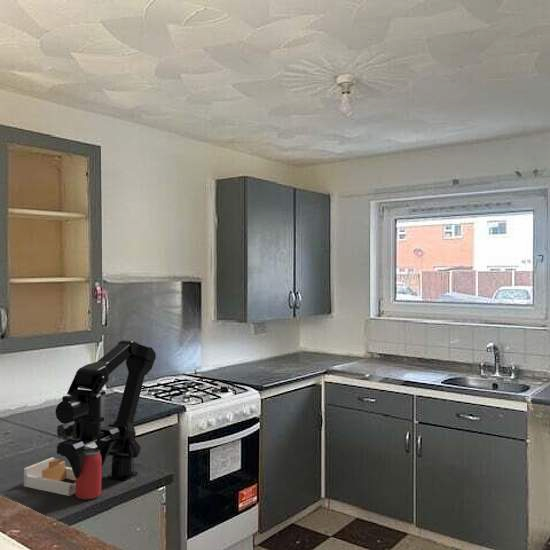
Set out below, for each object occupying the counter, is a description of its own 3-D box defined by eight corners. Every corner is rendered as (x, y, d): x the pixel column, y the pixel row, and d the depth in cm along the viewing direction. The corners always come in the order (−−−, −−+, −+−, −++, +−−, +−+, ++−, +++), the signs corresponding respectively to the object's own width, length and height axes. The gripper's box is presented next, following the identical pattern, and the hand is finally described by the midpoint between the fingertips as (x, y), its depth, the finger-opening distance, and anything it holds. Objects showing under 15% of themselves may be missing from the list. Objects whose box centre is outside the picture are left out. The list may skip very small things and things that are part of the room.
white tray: (51, 474, 168) (52, 457, 168) (95, 482, 162) (96, 465, 162) (23, 486, 158) (24, 468, 158) (69, 495, 152) (69, 477, 152)
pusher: (62, 478, 165) (62, 456, 165) (65, 478, 165) (65, 456, 165) (41, 487, 158) (42, 464, 158) (44, 488, 157) (44, 464, 157)
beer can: (104, 491, 156) (104, 447, 156) (97, 500, 149) (98, 455, 149) (79, 491, 156) (80, 447, 156) (72, 500, 149) (72, 455, 149)
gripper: (89, 403, 164) (88, 457, 164) (40, 419, 147) (39, 478, 147) (121, 408, 160) (120, 462, 160) (74, 424, 143) (73, 485, 143)
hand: (89, 471), depth 153 cm, fingers open, 9 cm apart
